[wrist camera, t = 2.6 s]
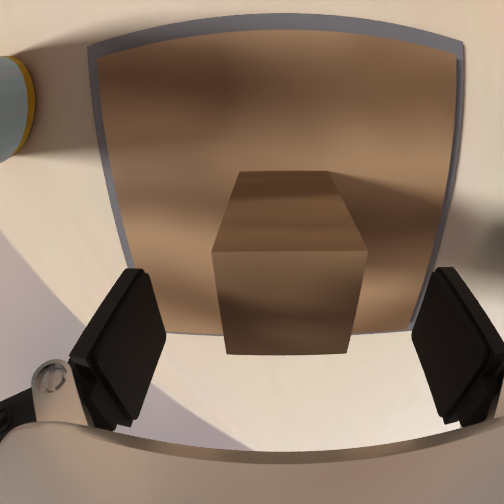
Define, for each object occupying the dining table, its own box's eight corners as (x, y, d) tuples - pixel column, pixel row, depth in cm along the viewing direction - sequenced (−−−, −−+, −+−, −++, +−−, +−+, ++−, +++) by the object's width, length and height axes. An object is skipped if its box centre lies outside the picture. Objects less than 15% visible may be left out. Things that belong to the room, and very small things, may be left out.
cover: (104, 58, 12) (-12, 66, 5) (448, 54, 10) (561, 61, 4) (158, 322, 20) (122, 417, 14) (403, 321, 19) (436, 417, 12)
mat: (91, 47, 11) (87, 46, 11) (458, 42, 10) (462, 41, 10) (151, 327, 21) (149, 331, 21) (410, 326, 20) (411, 330, 19)
